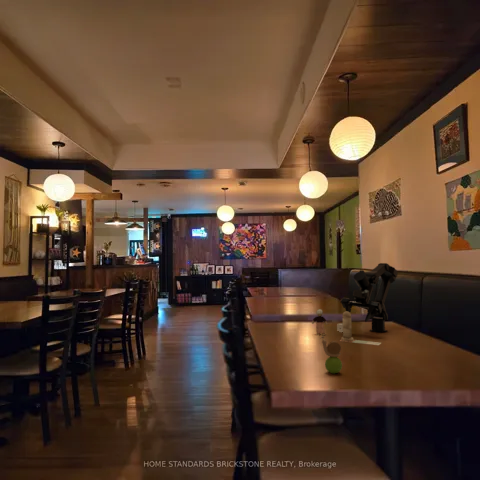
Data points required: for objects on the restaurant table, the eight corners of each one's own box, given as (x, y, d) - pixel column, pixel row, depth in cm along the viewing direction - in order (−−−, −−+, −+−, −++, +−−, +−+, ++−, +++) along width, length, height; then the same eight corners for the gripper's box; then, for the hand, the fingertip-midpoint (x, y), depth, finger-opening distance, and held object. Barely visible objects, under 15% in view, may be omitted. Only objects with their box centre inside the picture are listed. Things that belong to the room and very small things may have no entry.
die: (342, 330, 202) (342, 322, 203) (348, 332, 199) (348, 323, 199) (336, 331, 200) (336, 323, 200) (343, 332, 197) (342, 324, 197)
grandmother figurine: (327, 334, 193) (326, 308, 194) (328, 335, 189) (327, 309, 190) (311, 333, 194) (311, 308, 194) (312, 335, 190) (311, 309, 191)
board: (383, 343, 169) (383, 342, 170) (379, 346, 164) (379, 345, 164) (342, 339, 180) (342, 338, 180) (337, 342, 174) (337, 340, 174)
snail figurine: (320, 371, 128) (319, 334, 129) (338, 370, 128) (338, 334, 129) (325, 376, 123) (324, 338, 123) (344, 375, 123) (343, 337, 124)
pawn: (349, 339, 178) (349, 310, 179) (355, 341, 173) (354, 311, 174) (339, 339, 177) (338, 310, 178) (344, 341, 172) (344, 312, 173)
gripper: (342, 281, 191) (332, 307, 182) (380, 285, 179) (371, 312, 171) (348, 295, 197) (339, 320, 189) (385, 299, 186) (377, 326, 177)
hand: (356, 319), depth 181 cm, fingers open, 9 cm apart
